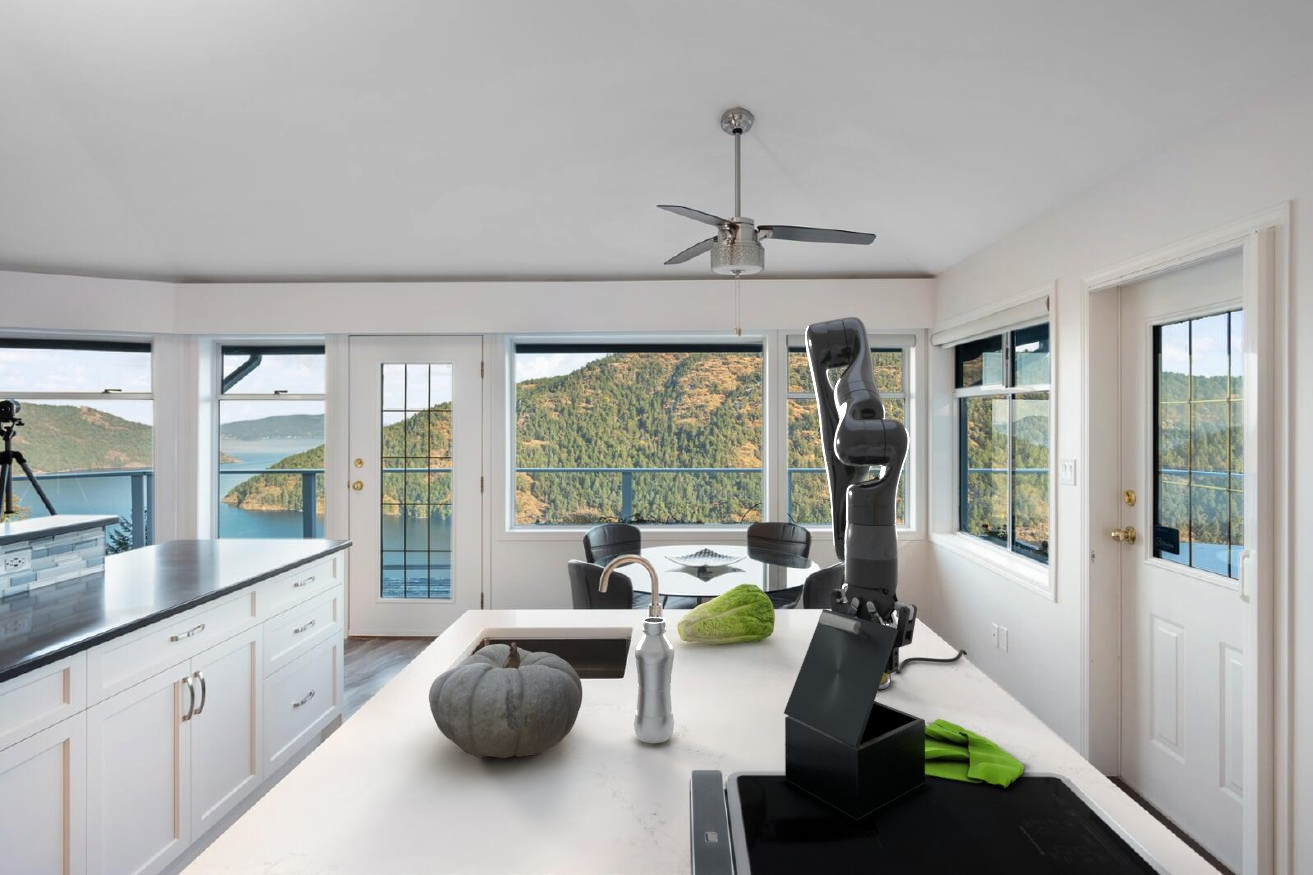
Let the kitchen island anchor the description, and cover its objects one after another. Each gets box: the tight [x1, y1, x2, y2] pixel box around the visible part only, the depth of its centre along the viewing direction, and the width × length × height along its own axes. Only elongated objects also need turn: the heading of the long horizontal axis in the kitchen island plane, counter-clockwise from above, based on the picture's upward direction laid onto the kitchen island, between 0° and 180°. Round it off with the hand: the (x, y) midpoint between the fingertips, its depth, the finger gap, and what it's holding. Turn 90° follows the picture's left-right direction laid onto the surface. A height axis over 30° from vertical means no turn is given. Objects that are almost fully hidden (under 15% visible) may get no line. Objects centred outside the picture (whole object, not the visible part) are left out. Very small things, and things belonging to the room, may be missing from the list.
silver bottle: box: [633, 616, 675, 744], centre depth 110 cm, size 6×7×20 cm
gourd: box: [428, 642, 583, 759], centre depth 109 cm, size 25×25×17 cm
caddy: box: [784, 700, 926, 826], centre depth 95 cm, size 16×13×10 cm
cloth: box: [925, 718, 1026, 789], centre depth 106 cm, size 20×22×2 cm
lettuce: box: [676, 583, 776, 645], centre depth 163 cm, size 14×24×14 cm
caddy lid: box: [783, 608, 898, 748], centre depth 92 cm, size 16×13×5 cm
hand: (871, 665), depth 98 cm, fingers closed on lemon, 5 cm apart
